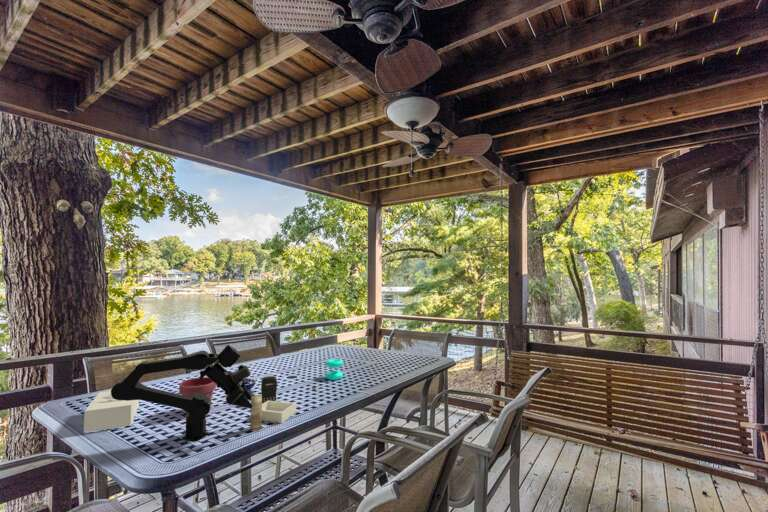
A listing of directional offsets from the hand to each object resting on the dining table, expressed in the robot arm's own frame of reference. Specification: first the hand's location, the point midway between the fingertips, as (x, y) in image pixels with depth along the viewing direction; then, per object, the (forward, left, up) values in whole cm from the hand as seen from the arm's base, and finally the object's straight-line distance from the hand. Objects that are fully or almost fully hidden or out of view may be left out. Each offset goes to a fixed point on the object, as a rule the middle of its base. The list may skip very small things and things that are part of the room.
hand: (251, 403), depth 142 cm
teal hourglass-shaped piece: (+74, -3, -10) cm, 75 cm away
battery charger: (+29, +11, -10) cm, 32 cm away
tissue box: (-6, +60, -10) cm, 62 cm away
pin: (+1, -1, -10) cm, 10 cm away
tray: (+14, -1, -10) cm, 17 cm away
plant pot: (+10, +34, -10) cm, 36 cm away
